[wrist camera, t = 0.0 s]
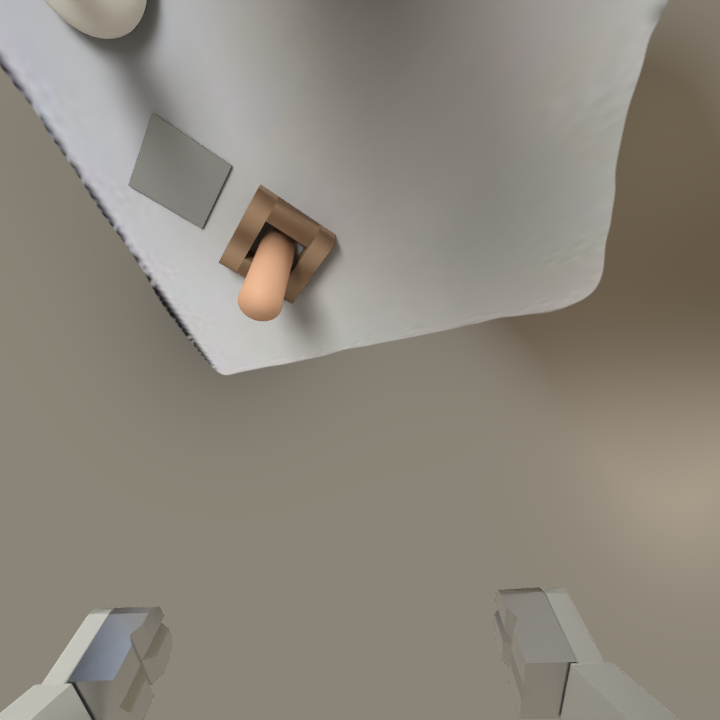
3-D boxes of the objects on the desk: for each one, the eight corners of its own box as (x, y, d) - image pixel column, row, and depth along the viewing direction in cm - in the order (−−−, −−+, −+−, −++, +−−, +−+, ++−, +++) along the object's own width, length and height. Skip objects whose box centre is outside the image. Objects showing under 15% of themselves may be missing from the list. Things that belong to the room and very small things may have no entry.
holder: (260, 184, 53) (256, 192, 50) (335, 234, 57) (334, 243, 55) (223, 253, 59) (218, 262, 57) (294, 293, 64) (292, 303, 61)
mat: (153, 112, 47) (152, 113, 47) (232, 165, 51) (231, 166, 51) (129, 184, 52) (128, 185, 52) (202, 227, 56) (201, 228, 56)
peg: (271, 220, 56) (249, 276, 44) (302, 240, 58) (289, 299, 46) (255, 247, 58) (230, 307, 46) (285, 265, 60) (269, 327, 48)
